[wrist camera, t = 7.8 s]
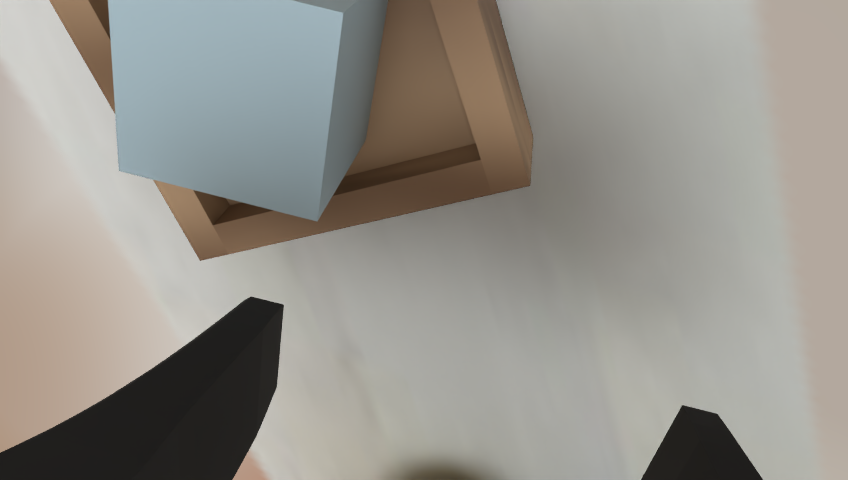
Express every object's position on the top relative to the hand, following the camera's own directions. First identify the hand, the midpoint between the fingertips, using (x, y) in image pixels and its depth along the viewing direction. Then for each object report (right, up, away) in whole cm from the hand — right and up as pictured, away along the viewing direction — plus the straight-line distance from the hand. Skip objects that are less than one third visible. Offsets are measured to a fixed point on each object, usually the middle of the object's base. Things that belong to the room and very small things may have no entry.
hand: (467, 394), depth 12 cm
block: (-4, +8, +5) cm, 10 cm away
